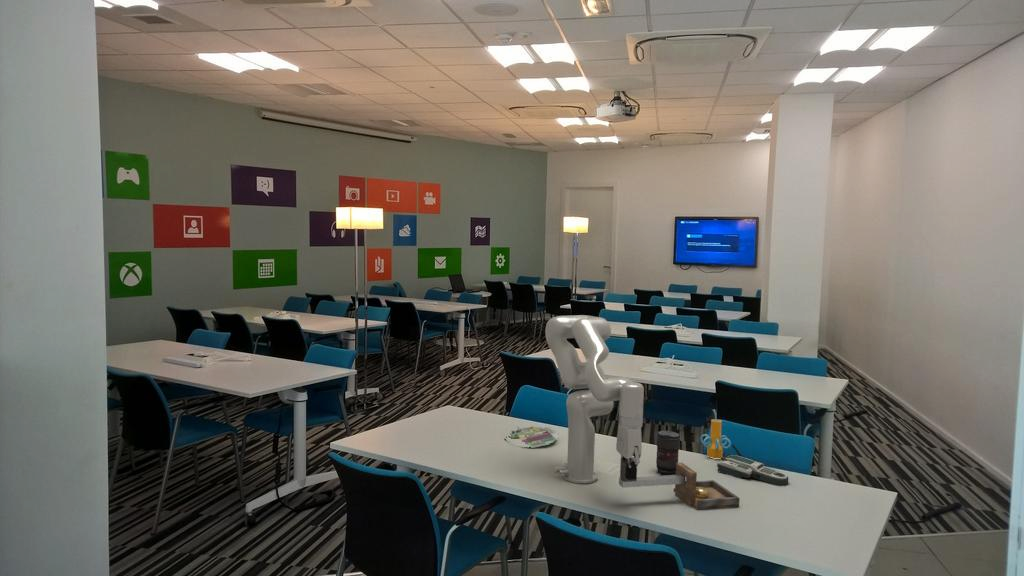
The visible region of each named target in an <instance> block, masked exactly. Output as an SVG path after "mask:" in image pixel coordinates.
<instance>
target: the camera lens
mask: <svg viewBox="0 0 1024 576" xmlns="http://www.w3.org/2000/svg"><path fill="white" fill-rule="evenodd" d="M680 441H681V440H680V434H679V433H677V432H674V431H671V430H670V431H669V430H661V431H660V430H659V431H658V432H657V439H656V459H655V460H656V462H655V463H656V464H655V465H656V469H657V473H658V474H659V475H660V476H666V475H676V463H679V450H680Z"/></svg>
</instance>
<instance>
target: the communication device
mask: <svg viewBox="0 0 1024 576" xmlns="http://www.w3.org/2000/svg"><path fill="white" fill-rule="evenodd" d="M731 446H732V448H733V449H734V451H735V452H736V454H737V455H735V454H734V455H733V454H732V453H727V454H725V455H723V457H722V459H720V460H719V462H717V463H716V468H717V471H718V472H719V473H720V474H721V473H722V474H724V475H727V476H730V475H731V476H732V477H734V476H735V478H737V477H739V479H742V478H746V479H747V478H748V479H750V478H753V479H756V480H758V481H760V482H763V483H766V484H770V485H774V486H787V484H789V476H788V475H787V474H786V473H784V472H782V471H779V470H776V469H773V468H770V467H767V466H765V465H764V463H762V462H759V461H755V460H752V459H750V458H747V457H744V456H743V454H742V453H741V452H740V451H739V450H738V448H737V447H736V446H735V445H734V444H733V443H731Z"/></svg>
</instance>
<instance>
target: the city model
mask: <svg viewBox="0 0 1024 576" xmlns="http://www.w3.org/2000/svg"><path fill="white" fill-rule="evenodd" d="M509 434H510V435H511V436H508V435H507V436H508V437H509V438H511V439H519V440H521V441H522V442H525V444H527V445H529V446H530V447H531V448H530V449H533V448H538V447H542V446H547V445H551V443H552V444H553V443H554V442H556V440H557V439H559V433H558V431H557V430H555V429H553V428H551V427H546V426H545V427H543V426H529V427H523V428H519V426H517V429H516V430H512V431H511V432H510V433H509ZM507 436H505V437H506V438H507Z"/></svg>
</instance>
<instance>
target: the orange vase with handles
mask: <svg viewBox="0 0 1024 576" xmlns="http://www.w3.org/2000/svg"><path fill="white" fill-rule="evenodd" d="M722 422H723V421H722V420H721V419H715V418H714V419H711V420H710V435H709V434H706V433H705V434H704V433H703V434H702V435H701V436H700V442H701V443H702V444H703V447H705V448H707V449H706V450H707V452H706V456H709V457H713V458H722V457H723V456H724V455H723V454H724V449H730V448H731V446H732V442H731V440H730V439H729V438H728V437H727V436H726V435H724V434H723V435H722ZM704 437H705V438H704ZM703 438H704V439H703ZM707 440H708V441H707ZM706 441H707V442H706ZM723 441H724V443H723ZM727 443H728V445H727ZM725 445H727V446H725ZM709 457H708V458H709Z"/></svg>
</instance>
